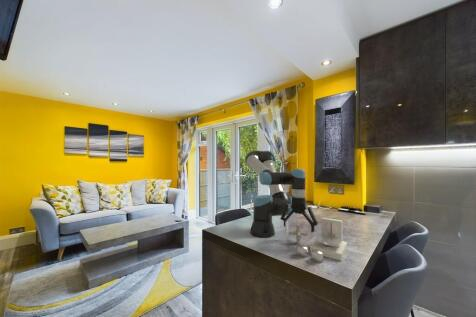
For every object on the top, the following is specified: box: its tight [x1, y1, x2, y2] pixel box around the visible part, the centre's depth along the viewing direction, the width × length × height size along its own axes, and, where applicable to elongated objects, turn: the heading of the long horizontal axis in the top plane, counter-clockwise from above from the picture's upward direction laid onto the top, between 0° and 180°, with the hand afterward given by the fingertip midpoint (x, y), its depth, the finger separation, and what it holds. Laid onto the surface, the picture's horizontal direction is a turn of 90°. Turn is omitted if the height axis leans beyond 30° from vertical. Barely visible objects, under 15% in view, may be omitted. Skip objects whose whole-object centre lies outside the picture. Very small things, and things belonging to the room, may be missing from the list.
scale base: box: [309, 217, 348, 261], centre depth 102 cm, size 14×18×14 cm
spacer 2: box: [311, 249, 324, 264], centre depth 91 cm, size 5×5×4 cm
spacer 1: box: [296, 244, 309, 258], centre depth 96 cm, size 5×5×4 cm
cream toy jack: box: [288, 223, 309, 244], centre depth 111 cm, size 10×10×10 cm
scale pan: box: [313, 233, 342, 247], centre depth 101 cm, size 11×11×1 cm
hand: (298, 235), depth 111 cm, fingers open, 13 cm apart
